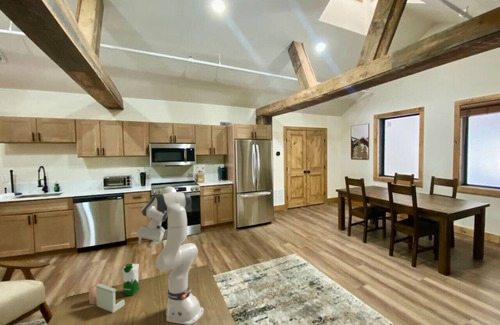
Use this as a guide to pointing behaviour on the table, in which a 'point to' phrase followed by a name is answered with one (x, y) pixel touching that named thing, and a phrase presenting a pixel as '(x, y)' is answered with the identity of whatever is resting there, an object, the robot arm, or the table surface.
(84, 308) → the table surface
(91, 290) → the terracotta jar
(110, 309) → the display nook
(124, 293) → the soya milk
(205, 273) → the table surface
